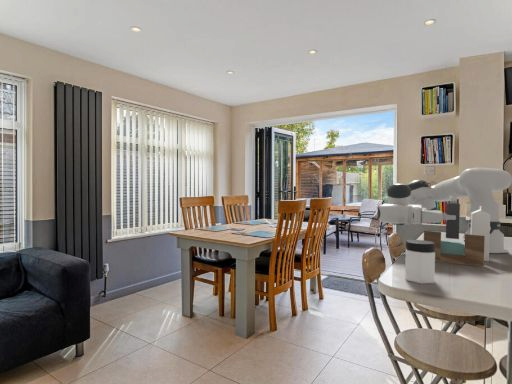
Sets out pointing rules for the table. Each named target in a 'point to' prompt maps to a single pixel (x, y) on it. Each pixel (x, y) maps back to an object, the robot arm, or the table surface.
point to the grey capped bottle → (453, 225)
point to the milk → (481, 228)
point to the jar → (420, 261)
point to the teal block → (452, 247)
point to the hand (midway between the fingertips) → (455, 217)
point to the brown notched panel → (471, 251)
